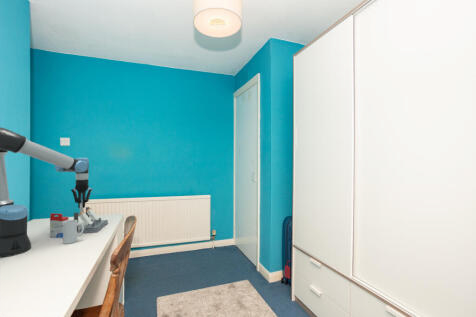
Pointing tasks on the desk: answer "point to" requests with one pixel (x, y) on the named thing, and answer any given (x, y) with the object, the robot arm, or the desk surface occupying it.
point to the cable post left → (76, 218)
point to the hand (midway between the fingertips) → (81, 212)
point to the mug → (71, 231)
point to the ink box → (57, 225)
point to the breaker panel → (94, 226)
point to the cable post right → (86, 212)
